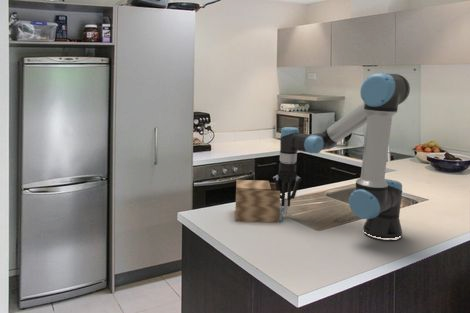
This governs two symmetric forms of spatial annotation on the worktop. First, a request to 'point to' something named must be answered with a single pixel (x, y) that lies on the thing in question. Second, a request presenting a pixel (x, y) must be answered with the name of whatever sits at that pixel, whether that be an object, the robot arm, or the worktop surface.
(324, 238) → the worktop surface
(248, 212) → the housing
